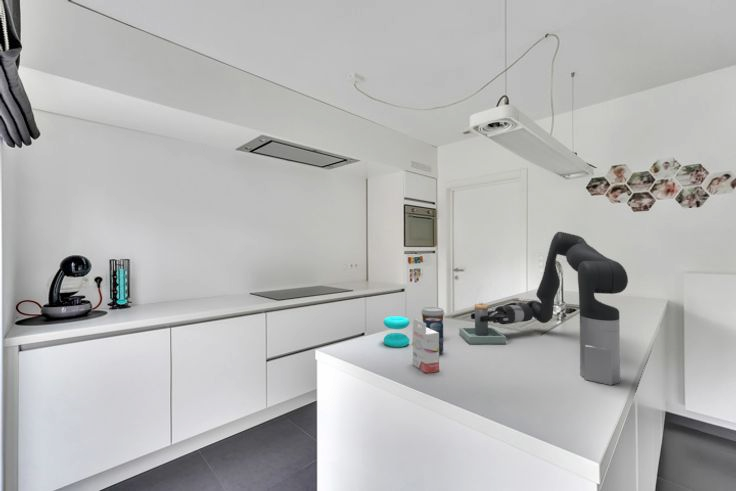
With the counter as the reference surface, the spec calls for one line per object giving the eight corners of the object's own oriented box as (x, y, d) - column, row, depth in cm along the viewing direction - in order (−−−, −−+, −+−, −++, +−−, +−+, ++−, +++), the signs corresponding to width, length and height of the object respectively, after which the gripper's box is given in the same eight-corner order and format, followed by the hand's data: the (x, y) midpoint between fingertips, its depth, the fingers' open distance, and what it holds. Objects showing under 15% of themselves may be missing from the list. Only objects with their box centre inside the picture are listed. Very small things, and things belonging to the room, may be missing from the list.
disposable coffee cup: (417, 336, 134) (417, 307, 134) (437, 334, 137) (437, 306, 137) (428, 342, 125) (427, 312, 125) (449, 340, 128) (449, 310, 128)
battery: (485, 336, 125) (485, 304, 125) (473, 334, 129) (472, 303, 129) (489, 334, 129) (489, 302, 129) (477, 332, 132) (477, 301, 132)
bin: (506, 344, 122) (506, 336, 122) (469, 344, 122) (469, 336, 122) (492, 334, 136) (492, 327, 136) (459, 334, 136) (459, 327, 136)
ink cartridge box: (440, 371, 96) (440, 322, 96) (425, 373, 94) (425, 324, 94) (425, 361, 104) (425, 316, 104) (411, 363, 102) (411, 318, 102)
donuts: (390, 314, 130) (413, 317, 125) (390, 338, 130) (413, 342, 125) (378, 319, 122) (402, 322, 116) (378, 345, 121) (402, 349, 116)
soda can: (442, 356, 108) (442, 321, 108) (421, 354, 111) (421, 320, 111) (444, 350, 115) (444, 317, 115) (425, 348, 117) (424, 316, 117)
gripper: (496, 302, 140) (464, 305, 135) (522, 308, 127) (488, 311, 121) (497, 319, 140) (464, 323, 135) (522, 327, 127) (488, 331, 121)
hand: (476, 317), depth 128 cm, fingers closed on battery, 5 cm apart
